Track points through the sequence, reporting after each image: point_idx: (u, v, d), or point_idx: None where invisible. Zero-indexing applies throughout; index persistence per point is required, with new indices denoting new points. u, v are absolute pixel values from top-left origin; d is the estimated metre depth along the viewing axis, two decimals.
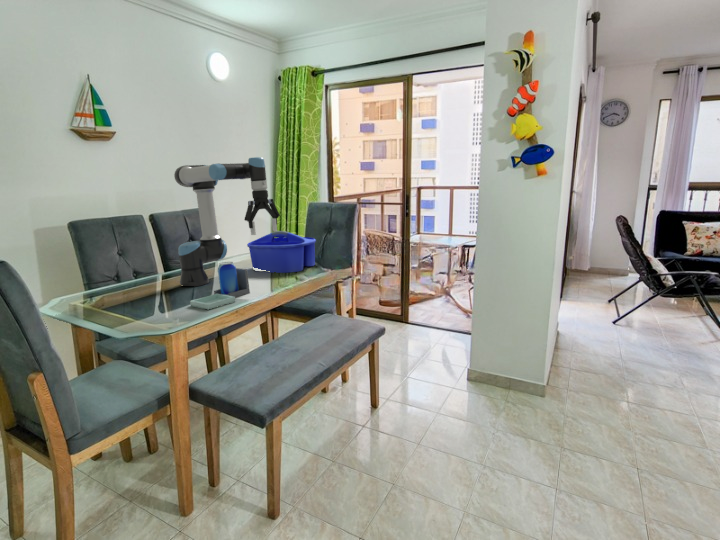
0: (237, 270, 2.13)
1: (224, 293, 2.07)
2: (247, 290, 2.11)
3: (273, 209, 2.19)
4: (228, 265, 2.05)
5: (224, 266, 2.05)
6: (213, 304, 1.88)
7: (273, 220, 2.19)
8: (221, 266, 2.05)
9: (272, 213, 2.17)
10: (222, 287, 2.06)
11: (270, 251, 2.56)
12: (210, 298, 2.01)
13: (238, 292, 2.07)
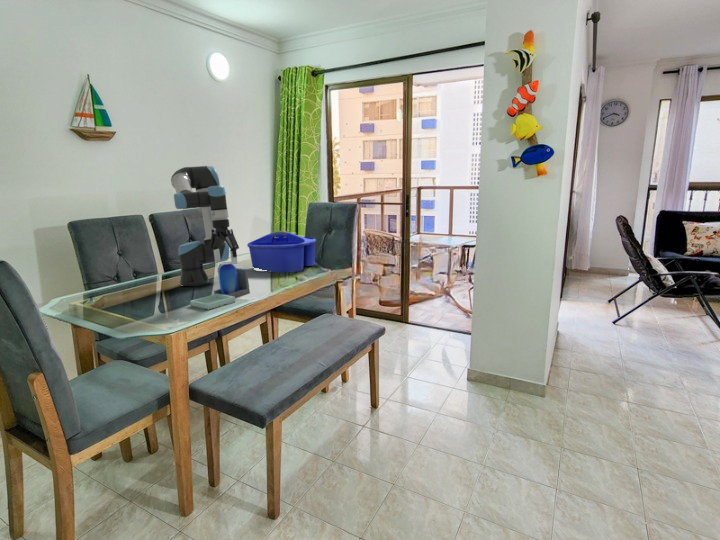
0: (237, 270, 2.13)
1: (224, 293, 2.07)
2: (247, 290, 2.11)
3: None
4: (228, 265, 2.05)
5: (224, 266, 2.05)
6: (213, 304, 1.88)
7: None
8: (221, 266, 2.05)
9: (228, 245, 2.01)
10: (222, 287, 2.06)
11: (270, 251, 2.57)
12: (210, 298, 2.01)
13: (238, 292, 2.07)
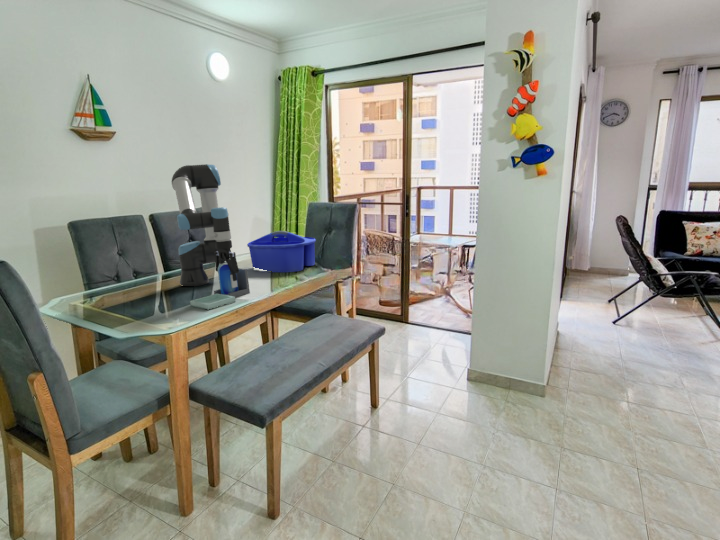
0: None
1: (224, 293, 2.07)
2: (247, 290, 2.11)
3: None
4: None
5: (224, 266, 2.04)
6: (213, 304, 1.88)
7: None
8: (221, 266, 2.05)
9: (229, 267, 2.05)
10: (222, 287, 2.06)
11: (270, 251, 2.57)
12: (210, 298, 2.01)
13: (238, 292, 2.07)
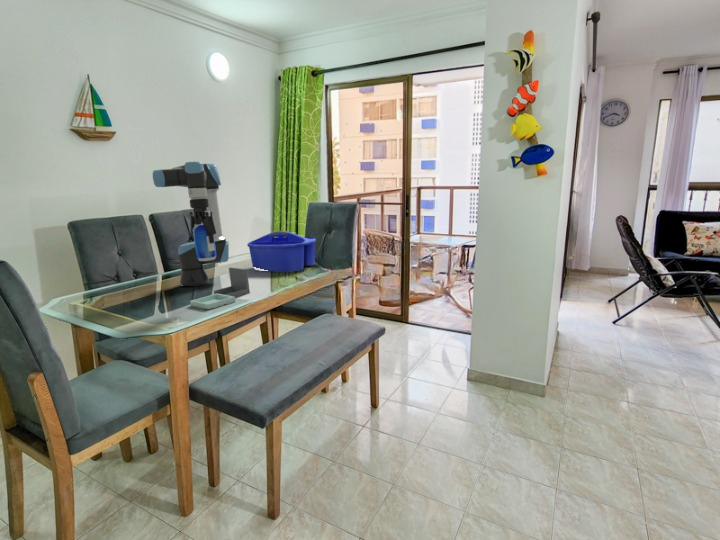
0: (237, 270, 2.13)
1: (200, 257, 1.88)
2: (247, 290, 2.11)
3: None
4: None
5: (199, 227, 1.85)
6: (213, 304, 1.88)
7: None
8: (196, 227, 1.86)
9: (205, 228, 1.86)
10: (198, 250, 1.87)
11: (271, 251, 2.58)
12: (210, 298, 2.01)
13: (238, 292, 2.07)
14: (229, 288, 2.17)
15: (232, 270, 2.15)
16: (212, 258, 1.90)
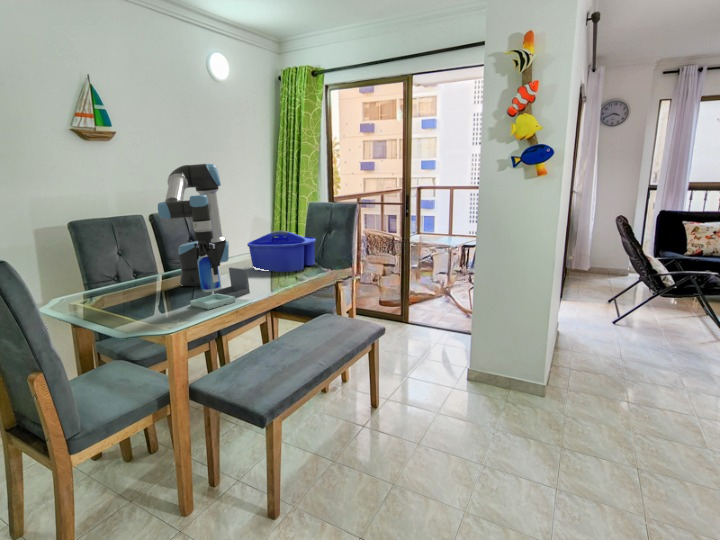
0: (237, 270, 2.13)
1: (204, 288, 1.90)
2: (247, 290, 2.11)
3: None
4: (208, 258, 1.89)
5: (204, 259, 1.88)
6: (213, 304, 1.88)
7: None
8: (201, 259, 1.89)
9: None
10: (202, 282, 1.90)
11: (271, 250, 2.58)
12: (210, 298, 2.01)
13: (238, 292, 2.07)
14: (229, 288, 2.17)
15: (232, 270, 2.15)
16: (216, 289, 1.92)
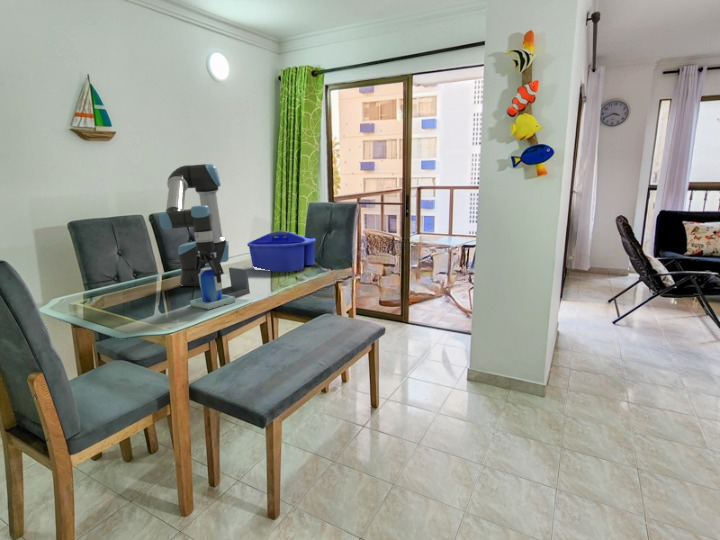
0: (237, 270, 2.13)
1: (206, 301, 1.92)
2: (247, 290, 2.11)
3: None
4: (210, 271, 1.90)
5: (206, 272, 1.90)
6: (213, 304, 1.88)
7: None
8: (202, 272, 1.90)
9: (212, 269, 1.89)
10: (204, 294, 1.92)
11: (271, 250, 2.59)
12: None
13: (238, 292, 2.07)
14: (229, 288, 2.17)
15: (232, 270, 2.15)
16: None
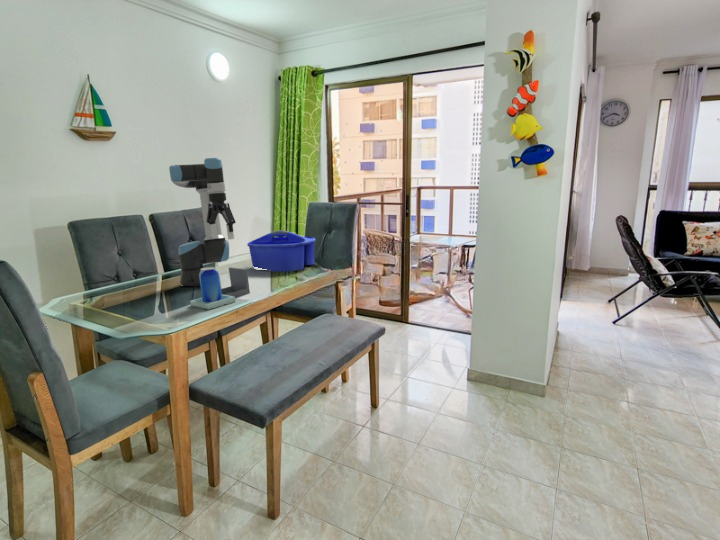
0: (237, 270, 2.13)
1: (206, 301, 1.92)
2: (247, 290, 2.11)
3: None
4: (210, 271, 1.90)
5: (206, 272, 1.90)
6: (213, 304, 1.88)
7: None
8: (202, 272, 1.90)
9: (224, 219, 1.96)
10: (204, 294, 1.92)
11: (271, 250, 2.59)
12: None
13: (238, 292, 2.07)
14: (229, 288, 2.17)
15: (232, 270, 2.15)
16: None
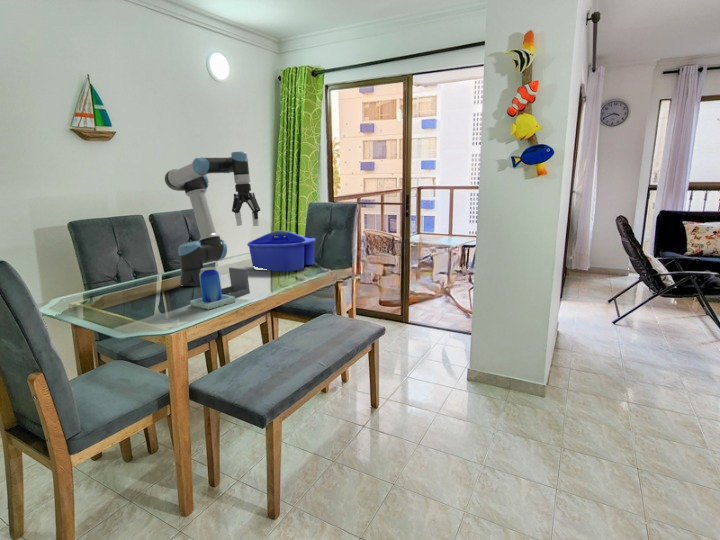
0: (237, 270, 2.13)
1: (206, 301, 1.92)
2: (247, 290, 2.11)
3: None
4: (210, 271, 1.90)
5: (206, 272, 1.90)
6: (213, 304, 1.88)
7: None
8: (202, 272, 1.90)
9: (250, 207, 2.15)
10: (204, 294, 1.92)
11: (271, 250, 2.60)
12: None
13: (238, 292, 2.07)
14: (229, 288, 2.17)
15: (232, 270, 2.15)
16: None
